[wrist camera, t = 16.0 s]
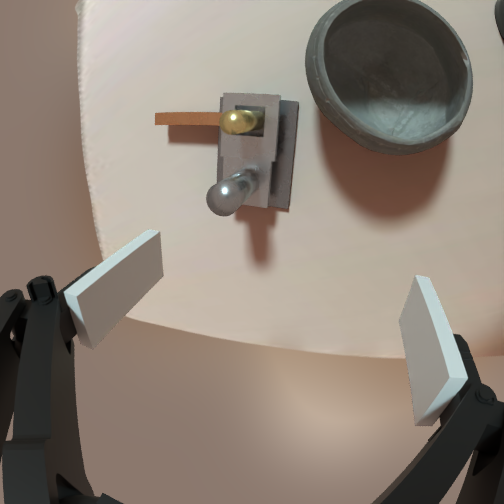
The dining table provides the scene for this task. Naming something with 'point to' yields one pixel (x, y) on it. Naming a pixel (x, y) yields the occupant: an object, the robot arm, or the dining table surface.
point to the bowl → (389, 74)
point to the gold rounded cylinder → (241, 121)
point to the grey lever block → (249, 152)
